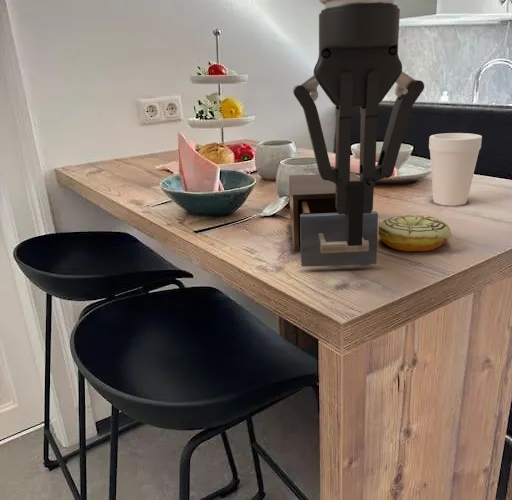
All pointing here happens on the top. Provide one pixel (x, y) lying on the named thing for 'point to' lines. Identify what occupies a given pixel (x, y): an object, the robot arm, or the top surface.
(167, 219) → the top surface
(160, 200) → the top surface
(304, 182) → the cabinet
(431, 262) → the top surface
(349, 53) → the robot arm
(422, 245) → the decorated donut
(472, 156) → the foam cup
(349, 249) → the drawer
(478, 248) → the top surface
